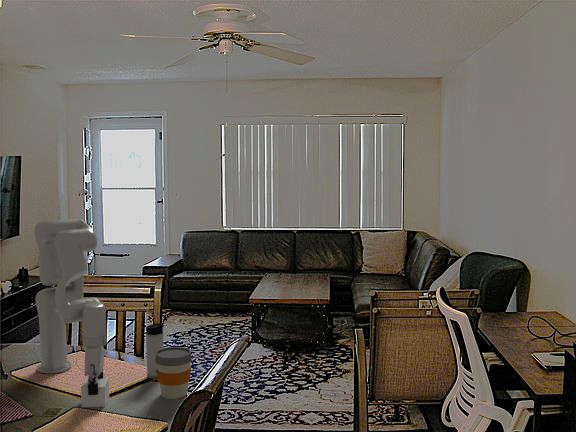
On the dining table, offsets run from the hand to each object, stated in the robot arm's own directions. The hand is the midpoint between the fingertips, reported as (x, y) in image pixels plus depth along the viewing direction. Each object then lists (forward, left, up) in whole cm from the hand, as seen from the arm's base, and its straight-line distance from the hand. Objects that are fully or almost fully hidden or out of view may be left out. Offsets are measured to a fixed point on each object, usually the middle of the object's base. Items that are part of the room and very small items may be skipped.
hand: (95, 388), depth 226 cm
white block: (+1, 0, -5) cm, 5 cm away
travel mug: (-22, +18, -5) cm, 29 cm away
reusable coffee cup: (-4, +26, -5) cm, 27 cm away
